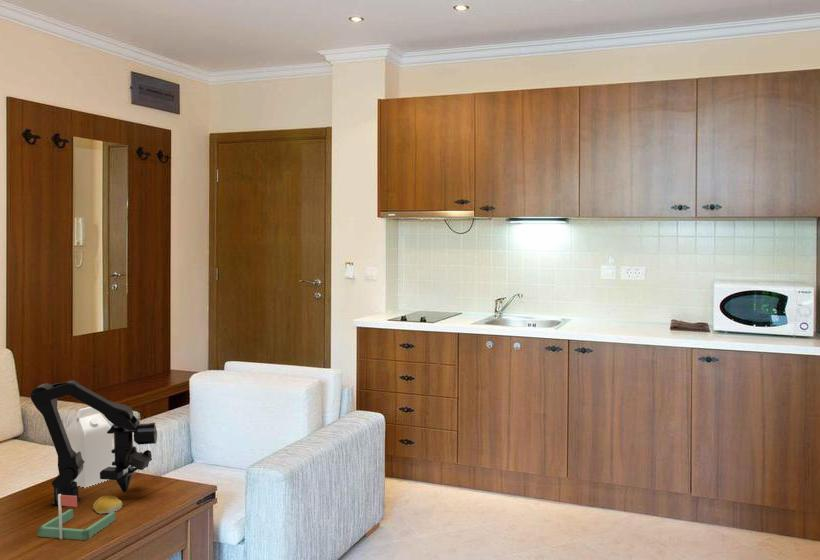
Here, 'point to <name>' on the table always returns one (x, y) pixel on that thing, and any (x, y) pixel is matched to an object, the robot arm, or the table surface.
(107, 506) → the bread roll
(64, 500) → the mini golf green
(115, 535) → the table surface
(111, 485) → the table surface
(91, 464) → the milk
